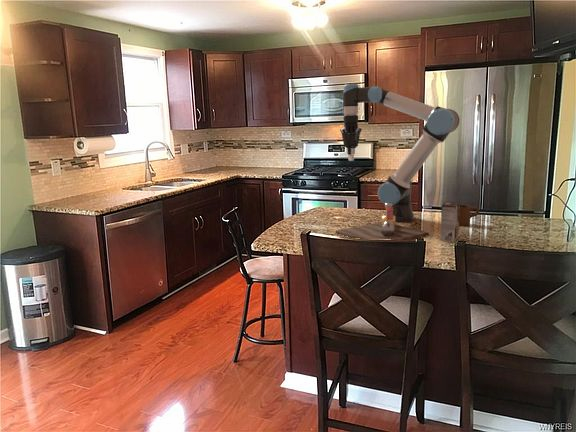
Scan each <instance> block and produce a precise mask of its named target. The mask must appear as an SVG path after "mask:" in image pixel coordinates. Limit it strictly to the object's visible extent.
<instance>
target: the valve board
mask: <svg viewBox="0 0 576 432" xmlns="http://www.w3.org/2000/svg"><path fill="white" fill-rule="evenodd" d="M381 224H382V221H379V222H374V223H370V224H364V225H359V226H354V227H348V228H344V229H338V230H335V234H336V233H337V234H336V235H338V234H341V235H344V236H343V237H345V236H348V237H349V239H351V238H360V239H391V240H407V241H410V240H411V241H412V240H415V239H420V238H423V237H427V236H430V232H429V231H425V230H420V229H415V228H412V227H409V226H408V227H407V226H404V225H399V224H395V233H394V235H393V236H384V235H383V234H382V232H381ZM341 235H340V236H341ZM348 237H347V238H348Z"/></svg>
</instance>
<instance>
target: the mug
mask: <svg viewBox="0 0 576 432" xmlns="http://www.w3.org/2000/svg"><path fill="white" fill-rule="evenodd" d="M472 211H475V212H474V213H473V212H472ZM471 212H472V213H471ZM479 214H480V209H479V207H477V206H470V205H467V204H466V205H465V204H460V212H459V227H468V226H470V223H471V218H474V217H477V216H478V215H479Z"/></svg>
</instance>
